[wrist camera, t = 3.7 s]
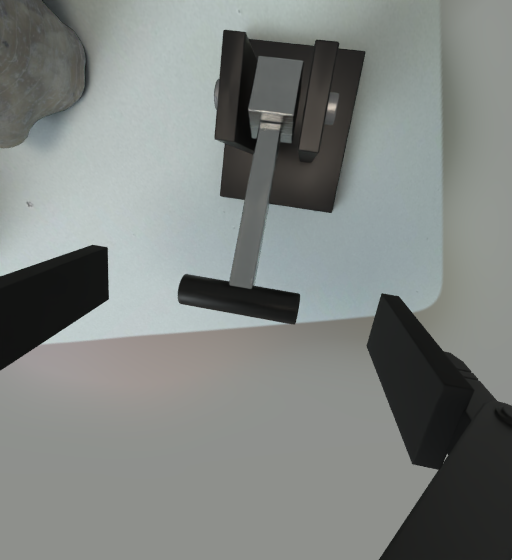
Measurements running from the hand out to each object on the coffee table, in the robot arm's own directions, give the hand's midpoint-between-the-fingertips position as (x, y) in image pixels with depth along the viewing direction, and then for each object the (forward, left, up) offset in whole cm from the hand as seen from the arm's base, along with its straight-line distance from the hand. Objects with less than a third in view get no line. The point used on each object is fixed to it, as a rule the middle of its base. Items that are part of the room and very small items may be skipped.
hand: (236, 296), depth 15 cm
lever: (0, -4, -3) cm, 5 cm away
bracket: (0, -9, -16) cm, 18 cm away
